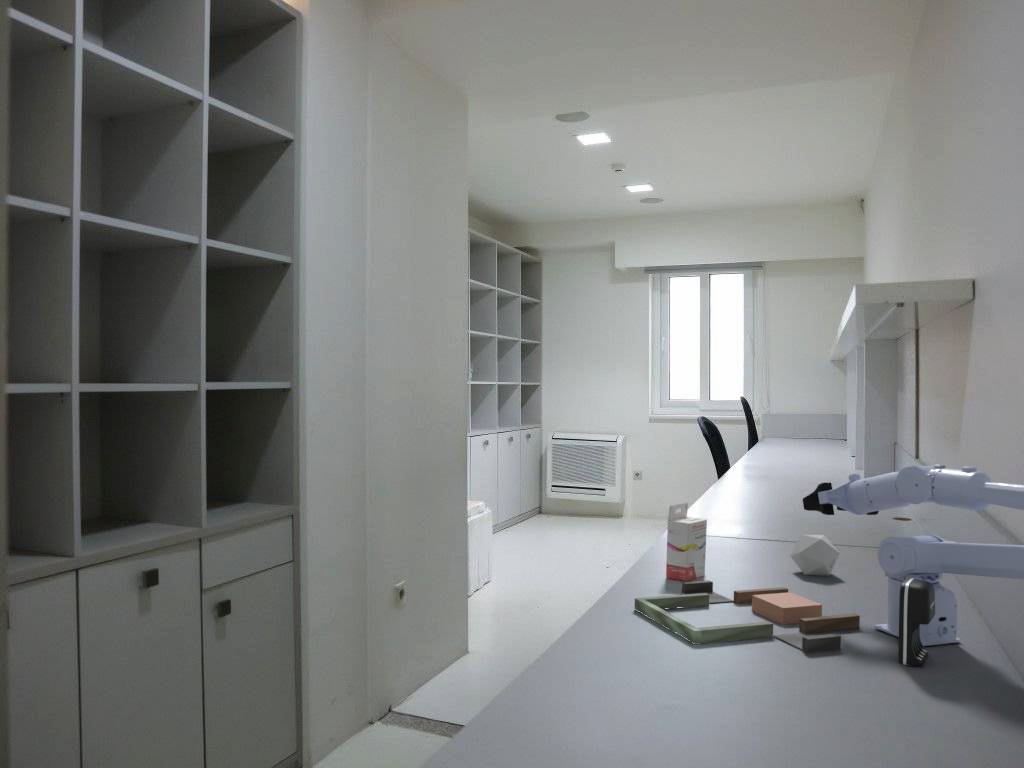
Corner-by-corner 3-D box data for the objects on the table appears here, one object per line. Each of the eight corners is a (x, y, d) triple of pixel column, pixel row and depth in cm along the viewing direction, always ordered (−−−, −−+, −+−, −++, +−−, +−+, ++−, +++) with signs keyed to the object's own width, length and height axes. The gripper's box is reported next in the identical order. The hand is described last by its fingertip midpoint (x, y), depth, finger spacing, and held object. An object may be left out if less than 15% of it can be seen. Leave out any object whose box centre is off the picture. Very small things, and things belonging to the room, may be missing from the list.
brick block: (821, 622, 127) (822, 604, 127) (782, 626, 125) (782, 608, 125) (789, 609, 135) (789, 592, 135) (751, 612, 132) (752, 595, 132)
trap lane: (897, 643, 116) (898, 630, 116) (725, 662, 106) (725, 647, 106) (757, 587, 148) (757, 577, 148) (613, 597, 138) (614, 586, 138)
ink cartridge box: (687, 582, 150) (689, 508, 151) (665, 578, 154) (667, 505, 154) (706, 575, 157) (708, 504, 157) (684, 571, 160) (686, 501, 160)
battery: (927, 671, 104) (929, 588, 104) (897, 665, 106) (899, 583, 106) (935, 658, 110) (937, 579, 110) (906, 652, 112) (908, 574, 112)
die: (832, 584, 155) (852, 543, 158) (793, 560, 156) (813, 519, 160) (816, 589, 163) (835, 549, 166) (778, 565, 164) (798, 527, 168)
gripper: (907, 470, 131) (848, 483, 143) (841, 468, 126) (786, 482, 138) (915, 511, 129) (854, 520, 141) (849, 511, 124) (792, 521, 136)
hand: (821, 504), depth 140 cm, fingers open, 7 cm apart
